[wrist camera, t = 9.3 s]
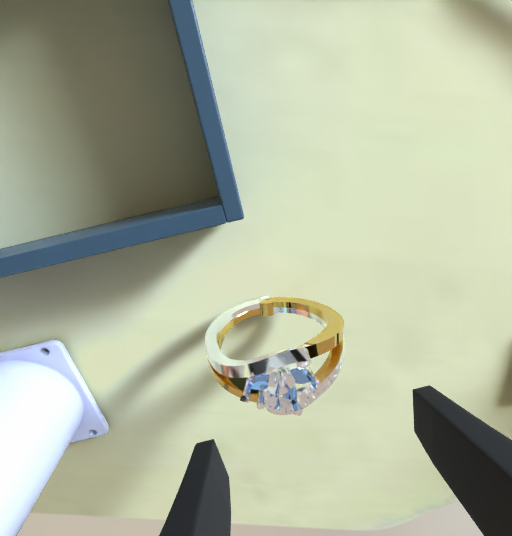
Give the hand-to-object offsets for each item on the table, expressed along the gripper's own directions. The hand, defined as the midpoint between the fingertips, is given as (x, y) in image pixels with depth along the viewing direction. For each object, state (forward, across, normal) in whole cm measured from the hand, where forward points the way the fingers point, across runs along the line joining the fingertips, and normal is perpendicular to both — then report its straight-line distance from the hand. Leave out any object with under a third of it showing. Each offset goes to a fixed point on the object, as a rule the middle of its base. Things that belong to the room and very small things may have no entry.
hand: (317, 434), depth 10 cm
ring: (+9, +1, -1) cm, 9 cm away
